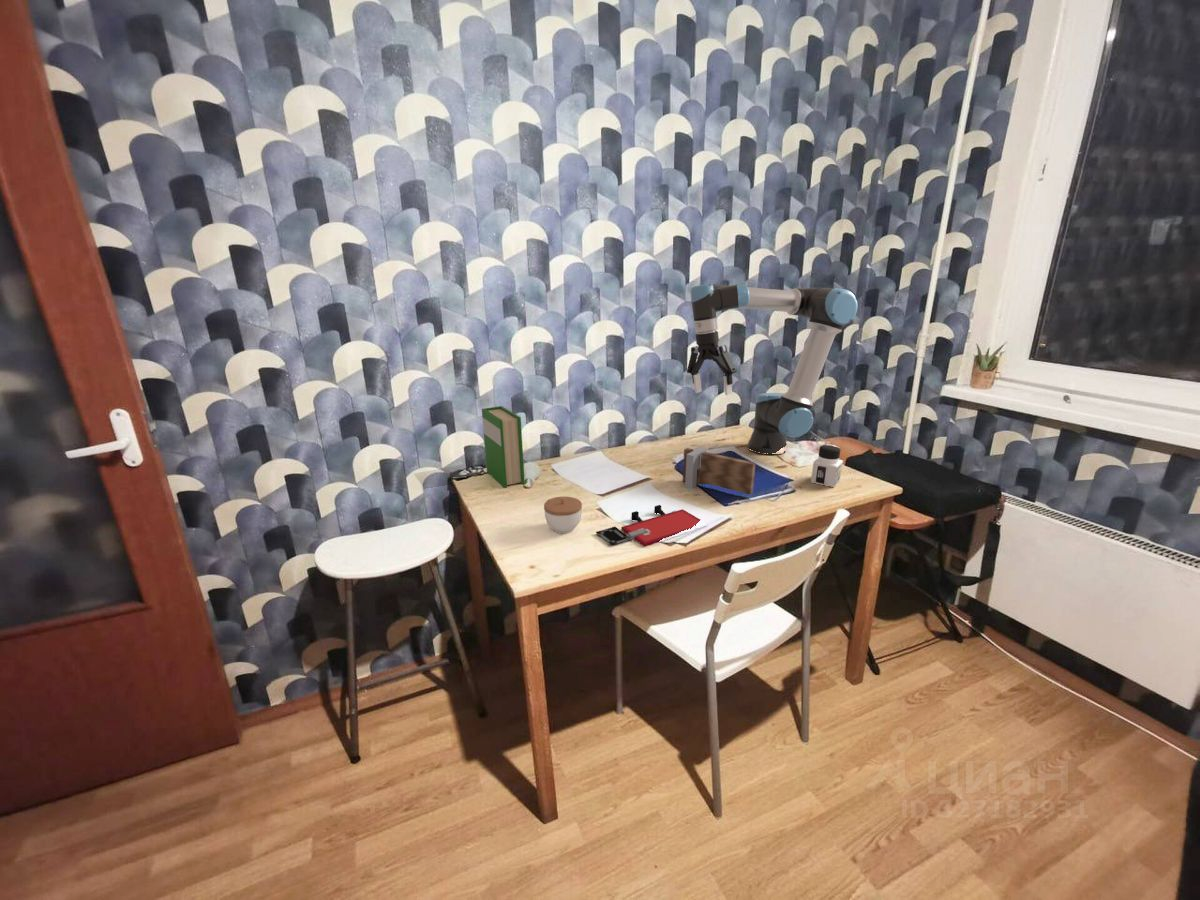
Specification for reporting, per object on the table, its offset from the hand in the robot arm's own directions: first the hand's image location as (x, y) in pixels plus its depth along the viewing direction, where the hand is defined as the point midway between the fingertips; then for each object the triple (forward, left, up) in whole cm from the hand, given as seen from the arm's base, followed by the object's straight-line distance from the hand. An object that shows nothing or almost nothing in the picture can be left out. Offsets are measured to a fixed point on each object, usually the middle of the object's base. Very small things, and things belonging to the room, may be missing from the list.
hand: (713, 393), depth 186 cm
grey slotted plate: (+10, -12, -29) cm, 33 cm away
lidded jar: (+23, -64, -29) cm, 74 cm away
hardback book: (-22, -71, -29) cm, 80 cm away
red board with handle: (+33, -41, -29) cm, 60 cm away
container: (+26, +30, -29) cm, 49 cm away
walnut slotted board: (+16, -8, -29) cm, 34 cm away
